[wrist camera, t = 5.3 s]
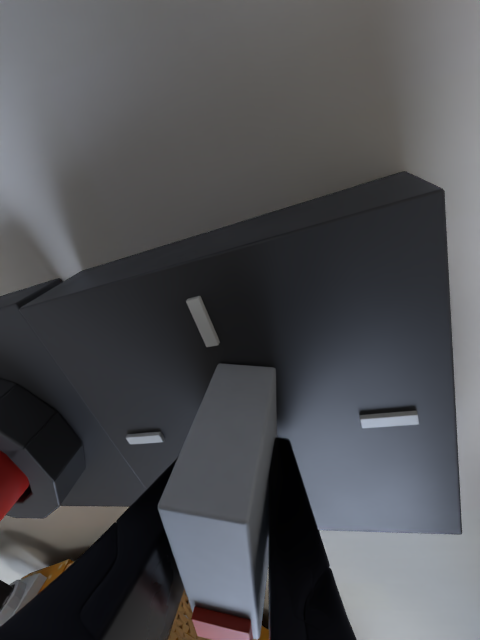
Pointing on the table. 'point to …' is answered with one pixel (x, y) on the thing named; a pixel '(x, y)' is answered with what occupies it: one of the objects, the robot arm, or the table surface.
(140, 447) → the panel
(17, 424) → the button block
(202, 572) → the grey rectangular block
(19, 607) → the device
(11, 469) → the power button
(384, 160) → the table surface
